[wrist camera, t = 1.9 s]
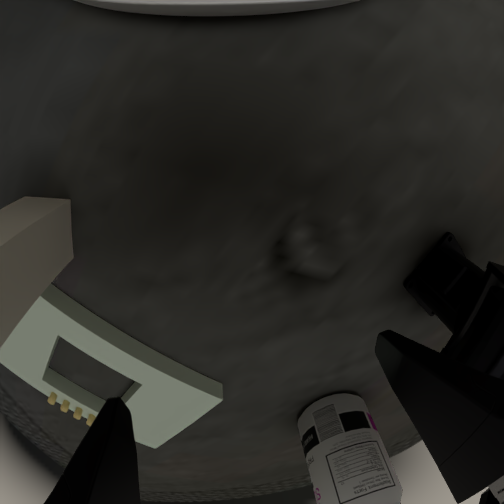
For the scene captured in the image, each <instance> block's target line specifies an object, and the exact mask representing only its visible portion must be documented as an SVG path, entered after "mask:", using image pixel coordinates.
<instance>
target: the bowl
mask: <svg viewBox="0 0 504 504" xmlns="http://www.w3.org/2000/svg"><path fill="white" fill-rule="evenodd" d="M74 1H77V2H80V3H83V4H87V5H91V6H95V7H100V8H105V9H110V10H116V11H124V12H132V13H142V14H154V15H171V16H245V15H264V14H277V13H288V12H298V11H306V10H315V9H321V8H328V7H333V6H338V5H344V4H348V3H352V2H356V1H360V0H74Z"/></svg>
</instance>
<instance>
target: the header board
mask: <svg viewBox="0 0 504 504" xmlns="http://www.w3.org/2000/svg"><path fill="white" fill-rule="evenodd" d="M60 337H62V338H63V339H65V340H66V341H68V342H69V343H71V344H72V345H74V346H75V347H77V348H79V349H80V350H82V351H83V352H85V353H87V354H88V355H90V356H91V357H93V358H95V359H96V360H98V361H100V362H101V363H103V364H105V365H107V366H108V367H110V368H112V369H114V370H116V371H117V372H119V373H121V374H123V375H125V376H127V377H128V378H130V379H132V380H134V381H135V382H134V383H133V385H132V386H131V387H130V388H129V389H128V390H127V392H126V393H125V394H124V395H123V396H122V397H121V399H122V400H123V402H124V403H125V404H126V406H127V407H128V408H129V410H130V412H131V416H132V423H133V431H134V438H135V441H137V442H139V443H142V444H144V445H147V446H149V447H152V448H155V449H156V448H157V447H159V446H160V445H162V444H163V443H164V442H166V441H167V440H169V439H170V438H172V437H173V436H175V435H176V434H178V433H179V432H180V431H182V430H183V429H185V428H186V427H187V426H189V425H190V424H192V423H193V422H194V421H196V420H197V419H198V418H200V417H201V416H203V415H204V414H205V413H207V412H208V411H209V410H211V409H212V408H213V407H214V406H216V405H217V404H218V403H220V402H221V401H222V400H223V388H222V383H219V382H217V381H215V380H213V379H211V378H208V377H206V376H204V375H202V374H200V373H198V372H196V371H194V370H192V369H190V368H188V367H186V366H184V365H182V364H180V363H178V362H176V361H174V360H172V359H170V358H168V357H166V356H164V355H162V354H161V353H159V352H157V351H155V350H153V349H151V348H150V347H148V346H146V345H144V344H143V343H141V342H139V341H137V340H136V339H134V338H132V337H130V336H129V335H127V334H125V333H124V332H122V331H120V330H119V329H117V328H116V327H114V326H112V325H111V324H109V323H108V322H106V321H104V320H103V319H101V318H100V317H98V316H97V315H95V314H94V313H92V312H91V311H89V310H88V309H86V308H85V307H83V306H82V305H80V304H79V303H77V302H76V301H75V300H73V299H72V298H70V297H69V296H68V295H66V294H65V293H63V292H62V291H61V290H59V289H58V288H57V287H55V286H54V285H53V284H50V285H49V286H48V287H47V288H46V289H45V291H44V292H43V293H42V294H41V295H40V297H39V298H38V299H37V300H36V301H35V303H34V304H33V305H32V306H31V308H30V309H29V310H28V311H27V313H26V314H25V315H24V317H23V318H22V319H21V321H20V322H19V323H18V325H17V326H16V327H15V329H14V330H13V331H12V333H11V334H10V335H9V337H8V338H7V340H6V341H5V342H4V344H3V345H2V347H1V348H0V363H2V364H3V365H4V366H5V367H7V368H8V369H9V370H11V371H12V372H13V373H15V374H16V375H17V376H19V377H20V378H22V379H23V380H24V381H26V382H27V383H29V384H30V385H32V386H33V387H34V388H36V389H37V390H39V391H41V392H42V393H44V394H45V395H47V396H48V397H49V399H48V402H49V403H50V404H51V405H54V403H55V401H56V402H58V403H60V404H62V406H61V408H60V409H61V410H62V411H63V412H67V411H68V409H70V410H72V411H74V412H75V413H74V418H76V419H78V420H80V418H81V416H83V417H85V418H87V419H88V420H87V425H89V426H91V424H92V423H93V421H94V420H95V418H96V416H97V415H98V413H99V411H100V410H101V408H102V407H103V405H104V403H105V402H106V401H105V400H104V399H102V398H100V397H98V396H96V395H94V394H92V393H91V392H89V391H87V390H85V389H83V388H82V387H80V386H78V385H77V384H75V383H73V382H72V381H70V380H68V379H67V378H65V377H63V376H62V375H60V374H59V373H57V372H56V371H54V370H53V369H51V368H49V364H50V361H51V358H52V356H53V353H54V350H55V348H56V345H57V343H58V340H59V338H60Z"/></svg>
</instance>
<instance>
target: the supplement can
mask: <svg viewBox="0 0 504 504" xmlns="http://www.w3.org/2000/svg"><path fill="white" fill-rule="evenodd" d="M297 426H298V430H299V434H300V438H301V442H302V446H303V450H304V454H305V458H306V462H307V465H308V469H309V473H310V477H311V481H312V485H313V489H314V493H315V497H316V501H317V504H401V503H400V501H401V496H402V491H403V490H402V487H401V485H400V482H399V480H398V477H397V475H396V473H395V470H394V468H393V466H392V463H391V461H390V458H389V456H388V454H387V451H386V449H385V447H384V445H383V442H382V440H381V438H380V435H379V433H378V431H377V429H376V426H375V424H374V422H373V420H372V417H371V415H370V413H369V411H368V409H367V406H366V404H365V402H364V400H363V399H362V398H360V397H359V396H356V395H352V394H347V393H342V394H334V395H331V396H327V397H324V398H322V399H320V400H318V401H316V402H314V403H313V404H311V405H310V406H309V407H307V408H306V410H305V411H304V412H303V413H302V415H301V416H300V418H299V419H298V424H297Z"/></svg>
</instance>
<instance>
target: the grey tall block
mask: <svg viewBox="0 0 504 504" xmlns="http://www.w3.org/2000/svg"><path fill="white" fill-rule="evenodd" d="M73 258H74V254H73V242H72V225H71V199H58V198H43V197H27V196H25V197H23V198H21V199H19V200H17V201H15V202H13V203H11V204H9V205H7V206H5V207H3V208H2V209H0V348H1V347H2V345H3V344H4V342H5V341H6V340H7V338H8V337H9V335H10V334H11V333H12V331H13V330H14V329H15V327H16V326H17V325H18V323H19V322H20V321H21V319H22V318H23V317H24V315H25V314H26V313H27V311H28V310H29V309H30V308H31V306H32V305H33V304H34V303H35V301H36V300H37V299H38V298H39V297H40V295H41V294H42V293H43V292H44V291H45V289H46V288H47V287H48V286H49V285H50V284H51V282H52V281H53V280H54V279H55V278H56V277H57V275H58V274H59V273H60V272H61V271H62V270H63V269H64V268H65V267H66V265H67V264H68V263H69V262H70V261H71V260H72V259H73Z"/></svg>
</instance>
